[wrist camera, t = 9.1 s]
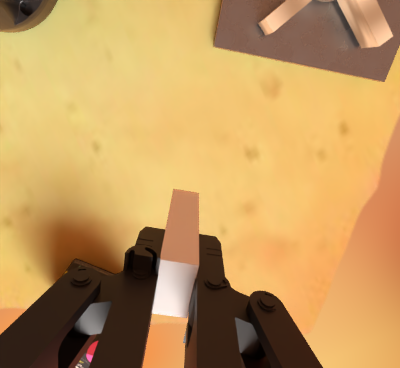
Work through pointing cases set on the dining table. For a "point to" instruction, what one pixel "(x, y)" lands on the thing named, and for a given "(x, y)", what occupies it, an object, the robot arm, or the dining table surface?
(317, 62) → the stand
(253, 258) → the dining table surface
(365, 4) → the capstan
